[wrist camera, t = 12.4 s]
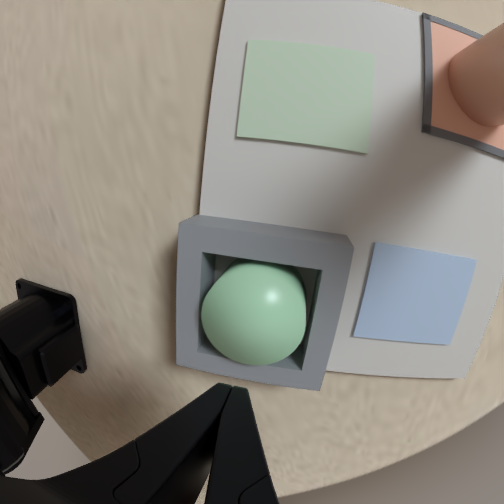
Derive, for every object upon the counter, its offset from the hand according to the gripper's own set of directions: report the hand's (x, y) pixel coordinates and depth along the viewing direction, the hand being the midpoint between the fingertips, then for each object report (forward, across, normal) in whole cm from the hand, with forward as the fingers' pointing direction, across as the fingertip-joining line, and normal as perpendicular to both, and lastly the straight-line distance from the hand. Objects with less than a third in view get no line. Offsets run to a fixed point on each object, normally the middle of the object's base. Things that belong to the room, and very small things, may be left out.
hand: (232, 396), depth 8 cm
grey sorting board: (+8, -5, -6) cm, 11 cm away
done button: (+8, 0, 0) cm, 8 cm away
